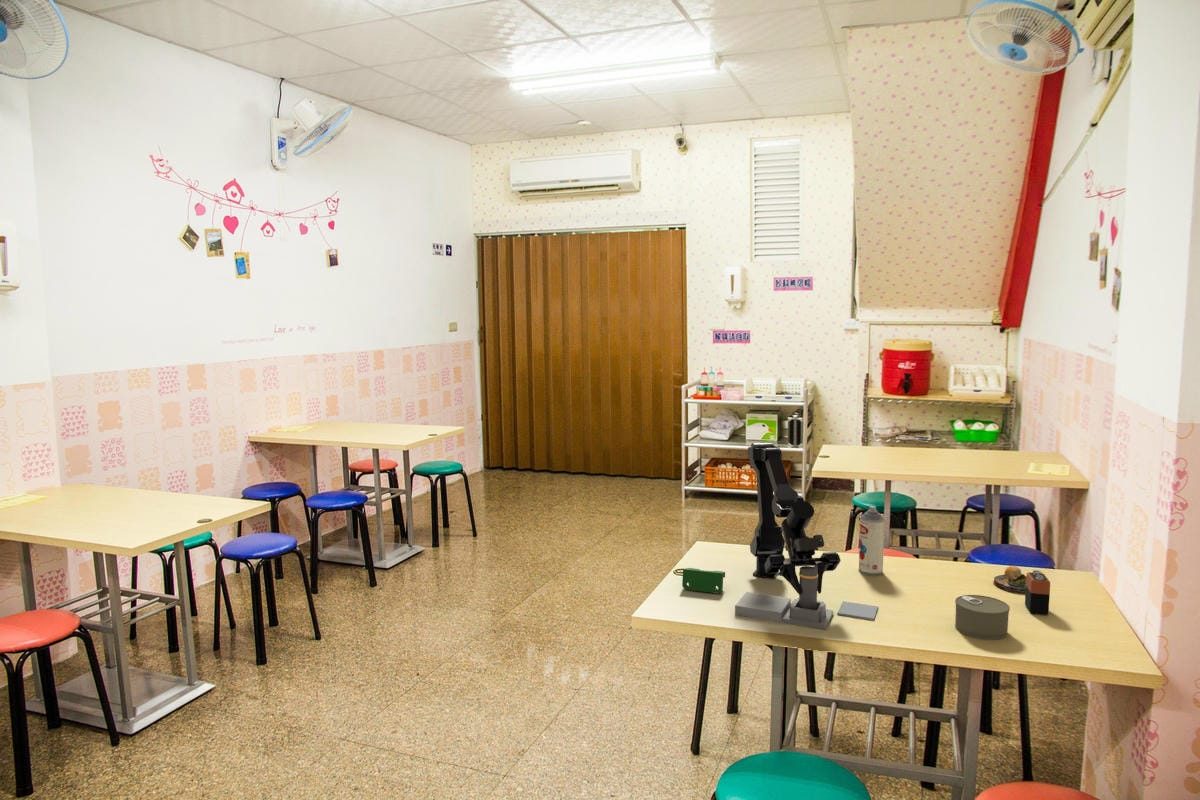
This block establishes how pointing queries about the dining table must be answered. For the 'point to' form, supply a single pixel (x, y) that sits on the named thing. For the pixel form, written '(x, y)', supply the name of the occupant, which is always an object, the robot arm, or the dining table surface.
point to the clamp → (703, 580)
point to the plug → (808, 587)
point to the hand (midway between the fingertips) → (810, 593)
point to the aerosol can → (871, 542)
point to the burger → (1011, 580)
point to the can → (981, 617)
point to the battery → (1037, 593)
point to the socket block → (782, 610)
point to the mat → (857, 610)
